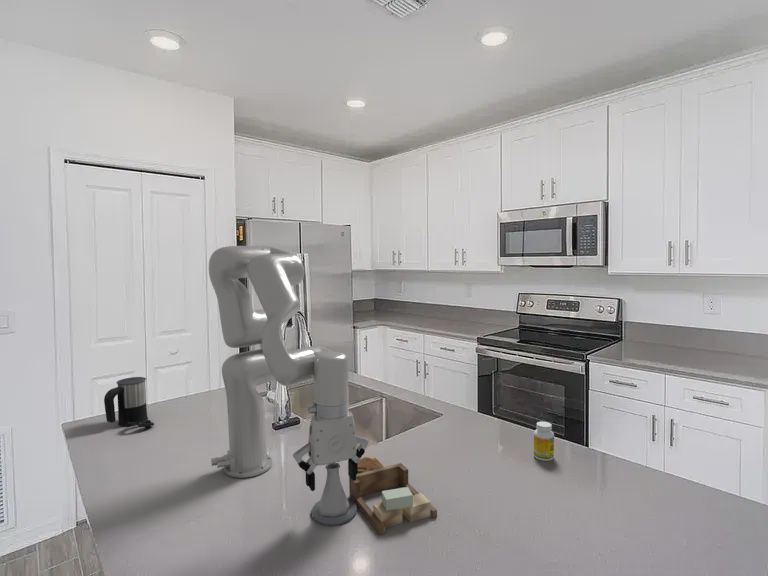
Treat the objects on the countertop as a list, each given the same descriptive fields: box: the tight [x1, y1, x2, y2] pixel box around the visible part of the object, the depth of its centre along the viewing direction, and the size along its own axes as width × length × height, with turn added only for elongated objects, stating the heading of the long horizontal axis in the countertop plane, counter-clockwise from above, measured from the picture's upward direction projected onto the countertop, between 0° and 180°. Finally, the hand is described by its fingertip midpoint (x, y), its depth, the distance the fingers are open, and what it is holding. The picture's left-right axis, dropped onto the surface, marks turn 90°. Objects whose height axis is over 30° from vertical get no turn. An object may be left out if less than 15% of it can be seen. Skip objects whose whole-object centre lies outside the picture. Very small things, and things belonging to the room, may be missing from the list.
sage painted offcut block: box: [381, 487, 413, 511], centre depth 98 cm, size 6×4×2 cm, turn 106°
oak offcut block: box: [372, 501, 403, 529], centre depth 97 cm, size 5×4×4 cm
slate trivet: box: [311, 497, 358, 527], centre depth 101 cm, size 10×10×1 cm
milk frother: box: [103, 376, 155, 429], centre depth 154 cm, size 14×16×15 cm
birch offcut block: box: [402, 492, 432, 523], centre depth 99 cm, size 5×4×4 cm
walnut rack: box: [348, 462, 438, 536], centre depth 103 cm, size 14×17×5 cm
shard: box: [358, 456, 384, 473], centre depth 120 cm, size 11×8×2 cm
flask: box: [318, 462, 350, 517], centre depth 100 cm, size 7×7×10 cm
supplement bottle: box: [533, 421, 555, 462], centre depth 126 cm, size 5×5×10 cm
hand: (332, 482), depth 100 cm, fingers open, 9 cm apart
